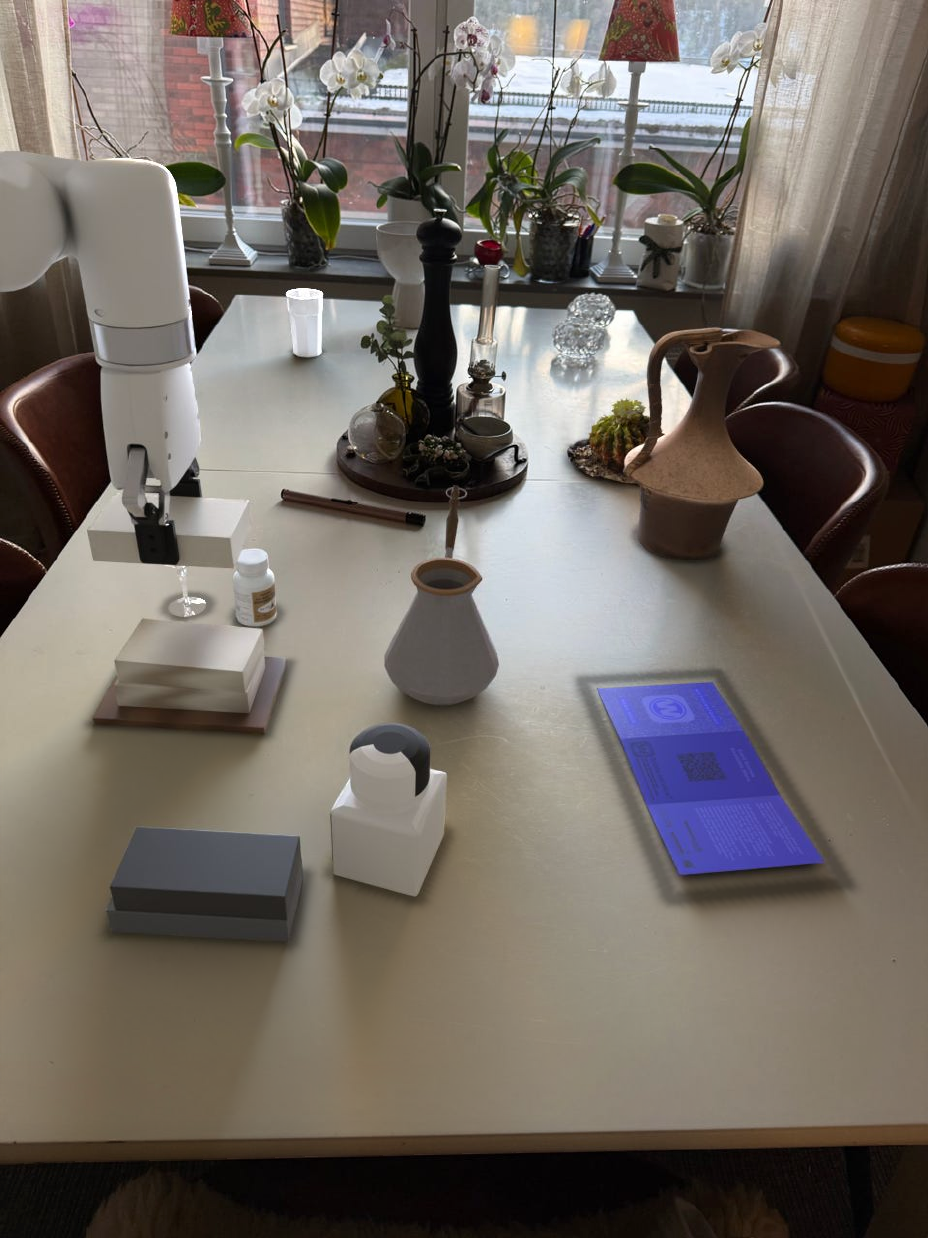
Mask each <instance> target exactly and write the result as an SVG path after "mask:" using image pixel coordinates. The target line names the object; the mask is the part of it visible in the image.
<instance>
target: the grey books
mask: <svg viewBox="0 0 928 1238" xmlns="http://www.w3.org/2000/svg"><path fill="white" fill-rule="evenodd" d="M303 871H304V870H303V858H302V849H301V837H300V835H290V834H289V835H288V834H276V833H275V834H273V833H257V832H240V831H239V832H238V831H225V830H224V831H223V830H222V831H220V830H205V829H189V828H186V829H185V828H172V827H171V828H169V827H154V826H151V827H150V826H135V828H134V830H133V833H132V834H131V838H130V839H129V842H128V843H127V847H126V848H125V851H124V853H123V855H122V858H121V860H120V862H119V864H118V867H117V869H116V871H115V873H114V876H113V879H112V881H111V882H110V885H109V889H110V894H111V899H110V901H109V903H108V906H107V908H106V915H107V919H108V923H109V927H110V930H111V932H112V933H127V934H144V935H161V936H163V935H164V936H178V937H179V936H182V937H197V938H214V939H215V938H216V939H232V940H248V941H264V942H265V941H266V942H281V943H282V942H283V943H284V942H285V943H289V942H290V939H291V934H292V931H293V925H294V920H295V917H296V911H297V907H298V903H299V898H300V894H301V890H302V885H303V881H304V872H303Z"/></svg>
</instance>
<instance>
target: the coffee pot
mask: <svg viewBox="0 0 928 1238" xmlns="http://www.w3.org/2000/svg"><path fill="white" fill-rule="evenodd" d="M450 490H451V492H450V495H449V494H448V491H450ZM460 491H462V492H464V493H465V494H464V495H463V496H461V497H460ZM445 495H446V496H447V498H450V499H449V500H448V502H447V503H448V506H449V509H448V513H447V517H446V520H445V542H444V545H445V546H444V550H445V552H444V557H435V558H429V559H426V560H423V561H421V562H419V563H417V564H416V565H415V566H414V567H413V569H412V570H411V572H410V579H411V582H412V583H413V585H414V586H415V587H416V590H417V592H416V593H415V596H414V597H413V598H412V600H411V602H410V605H409V606H408V608H407V610H406V612H405V614H404V616H403V618H402V620H401V621H400V623H399V625H398V627H397V628H396V631H395V633H394V635H393V637H392V638H391V640H390V642H389V644H388V646H387V649H386V651H385V653H384V658H383V659H384V662H383V663H384V668H385V671H386V673H387V675H388V677H389V679H390V680H391V682H392V683H393V684H394V685H395V686H396V687H397V689H398V690H400V691H401V692H402V693H404V694H406V695H407V696H408V697H411V698H413V699H415V700H417V701H419V702H422V703H425V704H428V705H432V706H433V705H434V706H451V705H455V704H456V705H457V704H459V703H462V702H465V701H468V700H470V699H472V698H475V697H476V696H478V695H479V694H481V693H482V692H483V691H485V690H487V688H488V687H489V685H490V684H491V683H492V682H493V680H494V679H495V677H496V676H497V673H498V669H499V666H500V661H499V656H498V652H497V649H496V648H495V647H496V646H495V645H494V643H493V640H492V638H491V636H490V634H489V631H488V628H487V627H486V624H485V622H484V619H483V618H482V615H481V612H480V610H479V609H478V605H477V604H476V601H475V599H474V597H473V593H474V591H475V590H476V589H477V587H478V586H479V584H481V582H482V581H483V576H482V575H481V574H480V571H478V570H477V568H476V567H474V566H473V565H472V564H470V563H468V562H466V561H464V560H461V559H457V558H453V557H454V550H455V545H456V538H457V533H458V527H459V526H458V525H459V510H458V509H459V507H460V505H461V502H460V500H463V499H465V498H466V497H467V496H468V492H467V490H466V489H465V488H462V487H459V485H457V484H454V485H453V486H452V487H448V488H447V489H446V490H445Z"/></svg>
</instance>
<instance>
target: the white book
mask: <svg viewBox="0 0 928 1238" xmlns="http://www.w3.org/2000/svg"><path fill="white" fill-rule="evenodd" d="M122 494H123V492H115V493H114V494H113V495H112V497H111V498H110V500H109V501H108V502H107V503H106V504H105V506H104V507H103V508H102V510H101V511H100V513H99V514H98V515H97V516H96V518H95V519H94V520H93V521H92V522H91V524H90V525H89V527H88V528H87V529H86V533H87V537H88V544H89V548H90V552H91V556H92V557H91V559H92V561H93V562H108V563H127V564H142V565H143V564H145V563H142V562H141V561H140V557H139V551H138V546H137V540H136V534H135V528H134V524H132V522H131V517H130V515H129V513H128V511H127V509H126V508H125V507H124V505H123V504H122ZM145 497H146V499H147V502H149V503H153V504H154V505H155V506H156V507H157V508H158V500H159V494H145ZM250 504H251V503H250V500H248V499H234V498H233V499H232V498H213V497H202V498H199V497H181V496H170V504H169V520H174V523H175V530H176V537H177V544H178V551H179V557H180V560H179V562H178V564H177V565H179V566H188V567H197V568H198V567H199V568H215V569H217V568H218V569H219V568H220V569H234V568H235V564H236V562H237V560H238V558H239V556H240V554H241V552H242V551H243V550H244V547H245V545H246V543H247V541H248V539H249V537H250V535H251V532H252V530H253V526H252V515H251V505H250Z"/></svg>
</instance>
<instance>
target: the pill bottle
mask: <svg viewBox="0 0 928 1238" xmlns="http://www.w3.org/2000/svg"><path fill="white" fill-rule="evenodd" d="M234 568H235V572H234V573H233V576H232V588H233V589H232V590H233V596H234V597H233V598H234V606H235V607H234V608H235V617H236V620H237V621H238V623H240V624H241V625H244V626H246V627H252V628H255V627H256V628H258V627H262V626H263V627H264V626H266V625H269V624H271V623H273V622H274V621H275V619H276V618H277V615H278V612H277V595H276V582H275V575H274V572H273V571H272V570H271V569H270V565H269V556H268V553H267V552H266V551H264V550H263V549H260V548H248V549H242V552H241V554H240V556H239V558H238V560H237V562H236V564H235V566H234Z"/></svg>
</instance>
